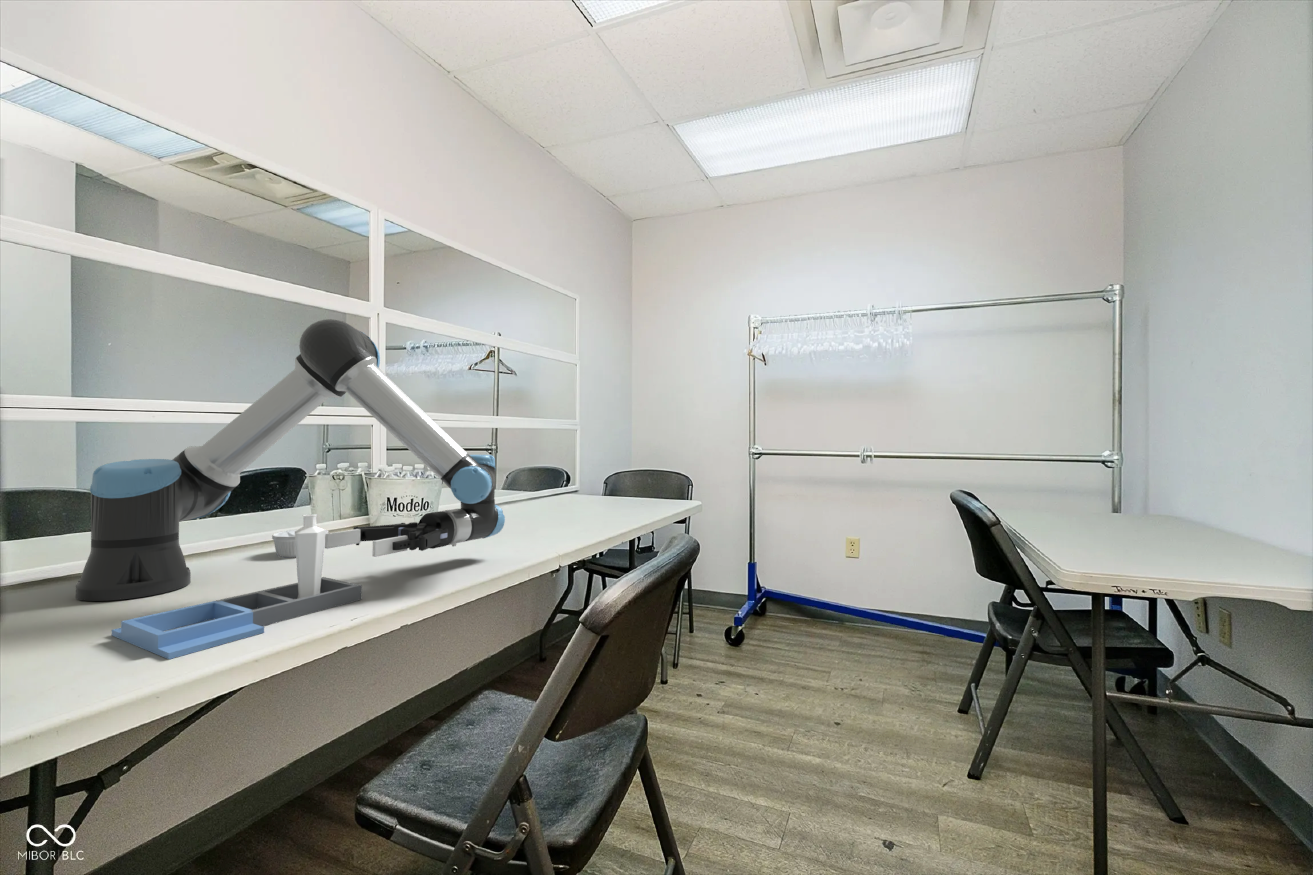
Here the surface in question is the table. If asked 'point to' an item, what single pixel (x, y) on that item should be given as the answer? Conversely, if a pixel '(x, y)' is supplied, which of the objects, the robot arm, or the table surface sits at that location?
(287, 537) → the ramekin
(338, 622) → the table surface
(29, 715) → the table surface
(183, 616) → the compartment sorting tray
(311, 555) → the perfume bottle
